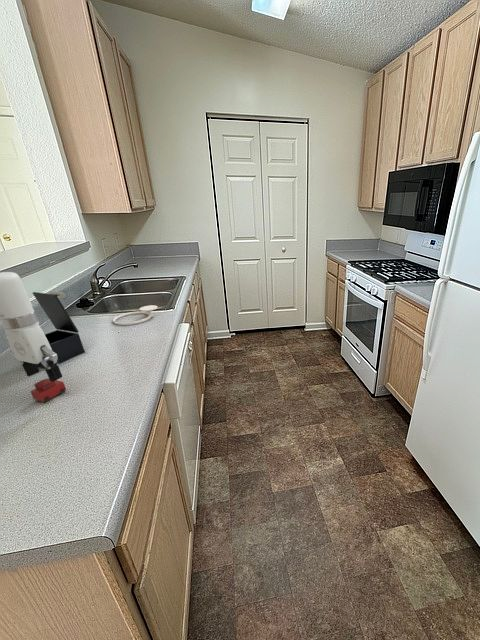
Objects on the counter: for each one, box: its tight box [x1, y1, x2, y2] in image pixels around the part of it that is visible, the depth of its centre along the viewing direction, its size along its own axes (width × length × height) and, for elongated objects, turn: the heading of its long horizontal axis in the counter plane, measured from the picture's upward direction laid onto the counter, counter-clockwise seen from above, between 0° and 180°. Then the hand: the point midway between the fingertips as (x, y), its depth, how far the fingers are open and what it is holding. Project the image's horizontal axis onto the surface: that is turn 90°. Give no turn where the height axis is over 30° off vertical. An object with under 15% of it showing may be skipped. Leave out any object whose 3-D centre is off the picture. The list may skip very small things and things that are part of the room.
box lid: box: [32, 290, 80, 334], centre depth 120 cm, size 15×11×5 cm
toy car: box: [30, 377, 67, 403], centre depth 97 cm, size 7×4×5 cm, turn 159°
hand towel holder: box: [112, 304, 158, 326], centre depth 158 cm, size 17×4×21 cm
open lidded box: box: [37, 329, 86, 370], centre depth 119 cm, size 14×11×8 cm
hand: (45, 376), depth 95 cm, fingers open, 9 cm apart
